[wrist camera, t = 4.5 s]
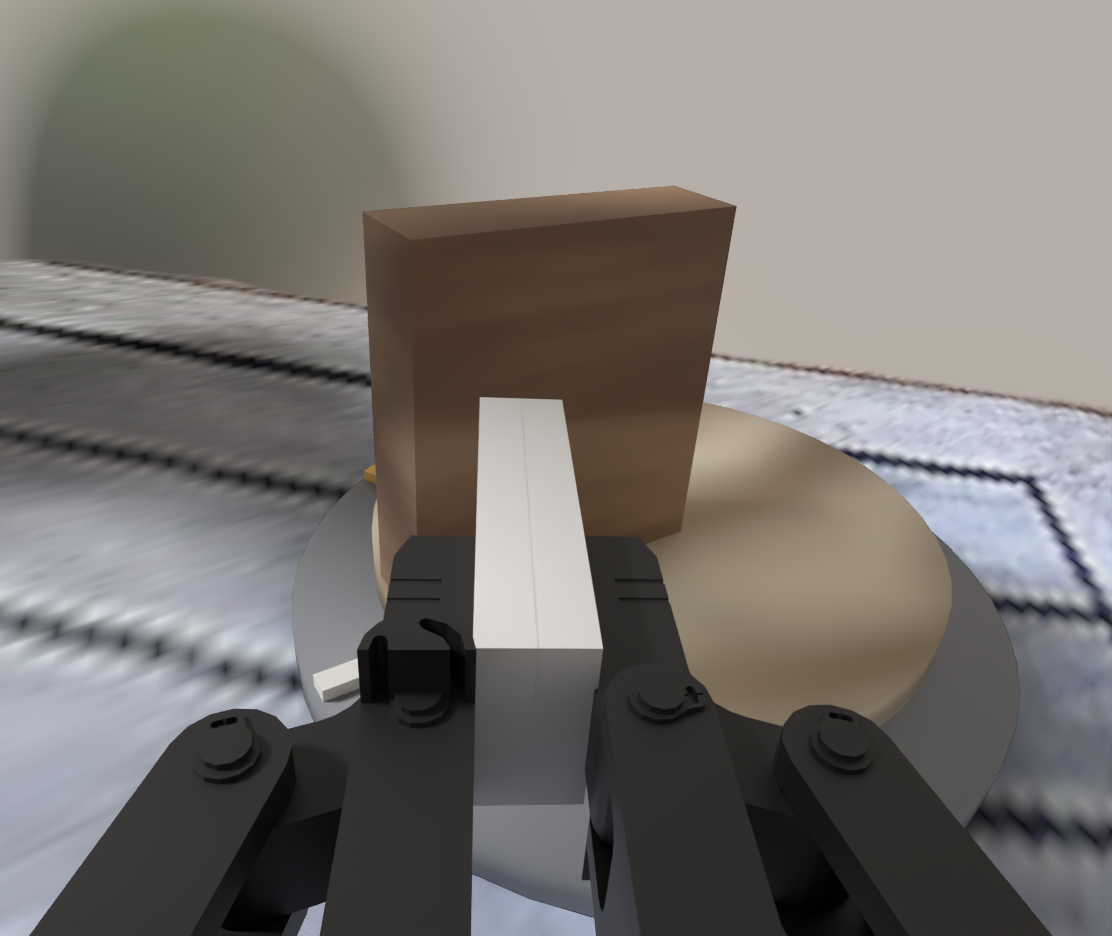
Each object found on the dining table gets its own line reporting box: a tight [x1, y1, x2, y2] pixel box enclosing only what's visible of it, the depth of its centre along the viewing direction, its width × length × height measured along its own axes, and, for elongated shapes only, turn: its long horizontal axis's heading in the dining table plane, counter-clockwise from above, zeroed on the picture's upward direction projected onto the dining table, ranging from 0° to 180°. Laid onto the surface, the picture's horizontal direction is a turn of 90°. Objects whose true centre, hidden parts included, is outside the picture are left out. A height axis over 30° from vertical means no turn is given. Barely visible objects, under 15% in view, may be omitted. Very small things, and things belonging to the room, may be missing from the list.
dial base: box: [292, 463, 1020, 917], centre depth 28 cm, size 23×23×2 cm
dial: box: [363, 186, 952, 727], centre depth 25 cm, size 18×18×12 cm
